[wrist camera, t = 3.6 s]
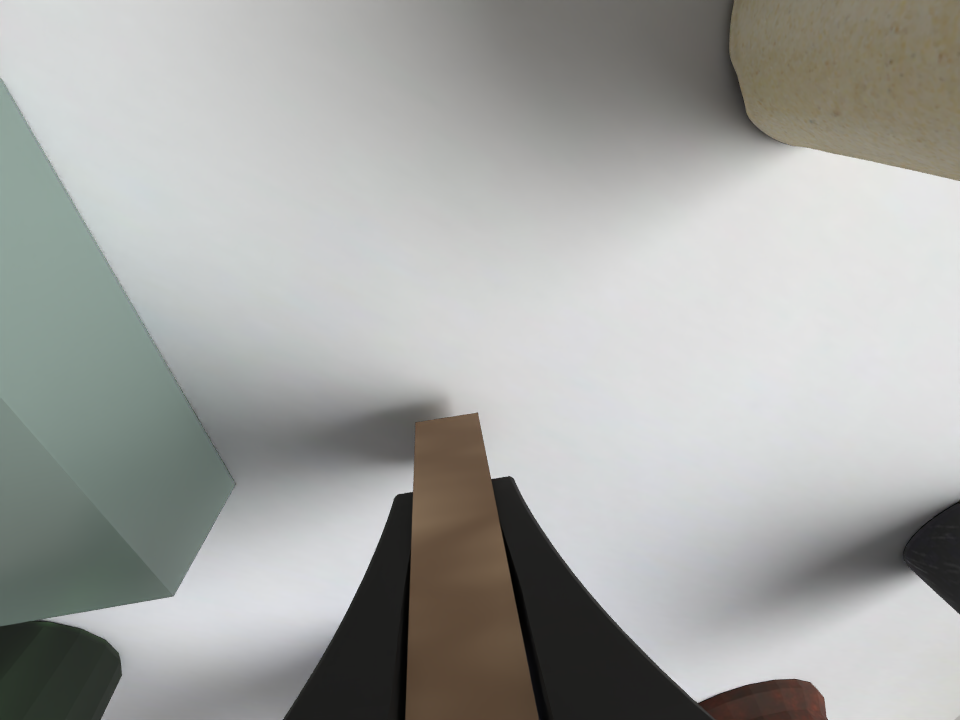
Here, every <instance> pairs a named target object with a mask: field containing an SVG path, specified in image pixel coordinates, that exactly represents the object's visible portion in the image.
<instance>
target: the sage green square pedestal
mask: <svg viewBox="0 0 960 720" xmlns="http://www.w3.org/2000/svg"><path fill="white" fill-rule="evenodd" d="M235 485H236V484H235V482H234V481H233V479H232V477H231V475H230V474H229V472H228V470H227V469H226V467H225V465H224V463H223V462H222V460H221V458H220V456H219V455H218V453H217V451H216V449H215V448H214V446H213V444H212V443H211V441H210V439H209V437H208V436H207V434H206V432H205V430H204V429H203V427H202V425H201V424H200V422H199V420H198V418H197V417H196V415H195V413H194V411H193V410H192V408H191V406H190V404H189V403H188V401H187V399H186V398H185V396H184V394H183V392H182V391H181V389H180V387H179V385H178V384H177V382H176V380H175V379H174V377H173V375H172V373H171V372H170V370H169V368H168V366H167V365H166V363H165V361H164V360H163V358H162V356H161V354H160V353H159V351H158V349H157V347H156V346H155V344H154V342H153V340H152V339H151V337H150V335H149V334H148V332H147V330H146V328H145V327H144V325H143V323H142V321H141V320H140V318H139V316H138V315H137V313H136V311H135V309H134V308H133V306H132V304H131V302H130V301H129V299H128V297H127V295H126V294H125V292H124V290H123V289H122V287H121V285H120V283H119V282H118V280H117V278H116V276H115V275H114V273H113V271H112V270H111V268H110V266H109V264H108V263H107V261H106V259H105V257H104V256H103V254H102V252H101V250H100V249H99V247H98V245H97V244H96V242H95V240H94V238H93V237H92V235H91V233H90V231H89V230H88V228H87V226H86V225H85V223H84V221H83V219H82V218H81V216H80V214H79V212H78V211H77V209H76V207H75V206H74V204H73V202H72V200H71V199H70V197H69V195H68V193H67V192H66V190H65V188H64V186H63V185H62V183H61V181H60V180H59V178H58V176H57V174H56V173H55V171H54V169H53V167H52V166H51V164H50V162H49V161H48V159H47V157H46V155H45V154H44V152H43V150H42V148H41V147H40V145H39V143H38V141H37V140H36V138H35V136H34V135H33V133H32V131H31V129H30V128H29V126H28V124H27V122H26V121H25V119H24V117H23V116H22V114H21V112H20V110H19V109H18V107H17V105H16V103H15V102H14V100H13V98H12V96H11V95H10V93H9V91H8V90H7V88H6V86H5V84H4V83H3V81H2V79H0V626H5V625H11V624H17V623H22V622H28V621H34V620H40V619H45V618H51V617H57V616H63V615H69V614H74V613H80V612H86V611H92V610H98V609H103V608H109V607H115V606H121V605H127V604H132V603H138V602H144V601H150V600H156V599H161V598H167V597H173V596H174V595H175V593H176V591H177V589H178V588H179V586H180V584H181V582H182V580H183V579H184V577H185V575H186V573H187V571H188V570H189V568H190V566H191V564H192V562H193V561H194V559H195V557H196V555H197V553H198V551H199V550H200V548H201V546H202V544H203V542H204V541H205V539H206V537H207V535H208V533H209V532H210V530H211V528H212V526H213V524H214V523H215V521H216V519H217V517H218V515H219V514H220V512H221V510H222V508H223V506H224V505H225V503H226V501H227V499H228V497H229V495H230V494H231V492H232V490H233V488H234V486H235Z"/></svg>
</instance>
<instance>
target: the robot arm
mask: <svg viewBox="0 0 960 720" xmlns="http://www.w3.org/2000/svg"><path fill="white" fill-rule="evenodd" d="M491 482H492V487H493V492H494V497H495V502H496V507H497V512H498V517H499V522H500V527H501V532H502V537H503V542H504V547H505V552H506V557H507V562H508V567H509V572H510V577H511V582H512V587H513V592H514V597H515V602H516V607H517V612H518V617H519V622H520V627H521V632H522V637H523V642H524V647H525V652H526V657H527V662H528V667H529V672H530V677H531V682H532V687H533V692H534V697H535V703H536V708H537V713H538V718H539V720H715V719H714V718H713V717H712V716H711V715H710V714H709V713H708V712H707V711H705V710H704V709H703V708H702V707H701V706H700V705H699V704H698V703H697V702H695V701H694V700H693V699H692V698H691V697H690V696H689V695H688V694H687V693H686V692H685V691H684V690H682V689H681V688H680V687H679V686H678V685H677V684H676V683H675V682H674V681H673V680H672V679H671V678H670V677H669V676H668V675H667V674H666V673H664V672H663V671H662V670H661V669H660V668H659V667H658V666H657V665H656V664H655V663H654V662H653V661H652V660H651V659H650V658H649V657H648V656H647V655H646V653H645V652H644V651H643V650H642V649H641V648H640V647H639V646H638V645H637V644H636V643H635V642H634V641H633V640H632V639H631V638H630V637H629V636H628V635H627V634H626V633H625V632H624V631H623V630H622V629H621V628H620V627H619V626H618V625H617V624H616V622H615V621H614V620H613V619H612V618H611V617H610V616H609V615H608V614H607V613H606V611H605V610H604V609H603V608H602V607H601V606H600V605H599V603H598V602H597V601H596V600H595V599H594V598H593V596H592V595H591V594H590V593H589V592H588V591H587V589H586V588H585V587H584V586H583V584H582V583H581V582H580V581H579V579H578V578H577V577H576V576H575V574H574V573H573V572H572V571H571V569H570V568H569V567H568V565H567V564H566V563H565V561H564V560H563V559H562V557H561V556H560V555H559V553H558V552H557V551H556V549H555V548H554V546H553V545H552V543H551V542H550V541H549V539H548V538H547V536H546V535H545V533H544V532H543V530H542V529H541V527H540V526H539V524H538V523H537V521H536V519H535V518H534V516H533V515H532V513H531V511H530V509H529V508H528V506H527V504H526V503H525V501H524V499H523V497H522V495H521V493H520V491H519V489H518V487H517V485H516V483H515V480H514V479H513V478H512V477H510V476H508V477H502V478H496V479H491ZM412 511H413V492H410V493H404V494H398V495H397V496H396V497H395V498H394V501H393V504H392V507H391V510H390V513H389V516H388V519H387V522H386V525H385V528H384V530H383V533H382V535H381V538H380V540H379V543H378V545H377V548H376V550H375V552H374V555H373V557H372V559H371V562H370V564H369V566H368V569H367V571H366V573H365V575H364V578H363V580H362V582H361V584H360V586H359V588H358V590H357V592H356V594H355V596H354V598H353V600H352V602H351V604H350V606H349V608H348V610H347V612H346V614H345V616H344V618H343V620H342V622H341V624H340V626H339V628H338V629H337V631H336V633H335V635H334V637H333V639H332V640H331V642H330V644H329V646H328V647H327V649H326V651H325V653H324V654H323V656H322V658H321V660H320V661H319V663H318V665H317V666H316V668H315V669H314V671H313V673H312V674H311V676H310V678H309V679H308V681H307V683H306V684H305V686H304V687H303V689H302V691H301V692H300V694H299V696H298V697H297V699H296V700H295V702H294V703H293V705H292V706H291V708H290V710H289V711H288V713H287V714H286V716H285V717H284V719H283V720H405V714H406V685H407V656H408V627H409V598H410V569H411V540H412Z"/></svg>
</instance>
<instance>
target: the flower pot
mask: <svg viewBox="0 0 960 720" xmlns="http://www.w3.org/2000/svg"><path fill="white" fill-rule="evenodd" d="M729 54H730V58H731V62H732V64H733V67H734V69H735V71H736V73H737V76H738V80H739V84H740V88H741V92H742V95H743V99H744V103H745V108H746V113H747V115H748V117H749V119H750V120H751V121H752V123H753V124H754V125H756V126H757V127H758V128H759V129H760V130H761V131H762V132H764V133H765V134H766V135H768V136H770V137H772V138H773V139H775V140H777V141H780V142H782V143H785V144H789V145H792V146H799V147H807V148H812V149H816V150H821V151H825V152H829V153H834V154H839V155H844V156H849V157H854V158H859V159H864V160H868V161H873V162H877V163H882V164H886V165H891V166H896V167H900V168H905V169H909V170H914V171H918V172H923V173H927V174H932V175H936V176H940V177H945V178H949V179H953V180H958V181H960V0H734V5H733V10H732V15H731V24H730V38H729Z"/></svg>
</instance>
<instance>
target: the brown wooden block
mask: <svg viewBox="0 0 960 720" xmlns="http://www.w3.org/2000/svg"><path fill="white" fill-rule="evenodd" d="M405 720H539V718H538V713H537V708H536V703H535V697H534V692H533V687H532V682H531V677H530V672H529V667H528V662H527V657H526V652H525V647H524V642H523V637H522V632H521V627H520V622H519V617H518V612H517V607H516V602H515V597H514V592H513V587H512V582H511V577H510V572H509V567H508V562H507V557H506V552H505V547H504V542H503V537H502V532H501V527H500V522H499V517H498V512H497V507H496V502H495V497H494V492H493V487H492V482H491V477H490V472H489V466H488V461H487V456H486V451H485V446H484V441H483V436H482V431H481V426H480V421H479V416H478V413H473V414H467V415H460V416H454V417H447V418H441V419H434V420H428V421H422V422H416V424H415V453H414V482H413V511H412V540H411V569H410V598H409V627H408V656H407V685H406V714H405Z"/></svg>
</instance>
